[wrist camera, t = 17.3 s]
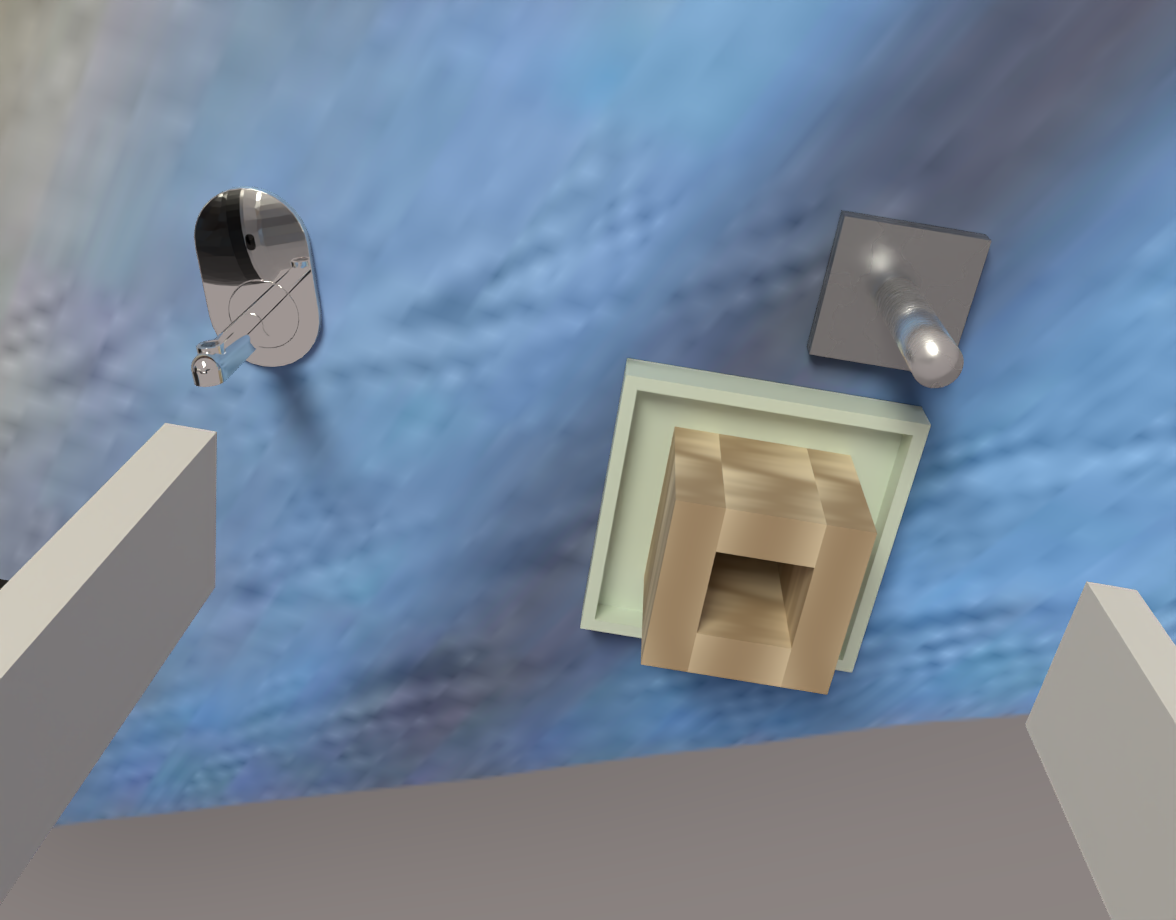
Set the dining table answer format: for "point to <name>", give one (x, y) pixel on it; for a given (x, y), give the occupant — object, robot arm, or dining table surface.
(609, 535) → the tray
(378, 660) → the dining table surface
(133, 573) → the robot arm
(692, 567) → the bored block
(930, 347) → the gauge post
